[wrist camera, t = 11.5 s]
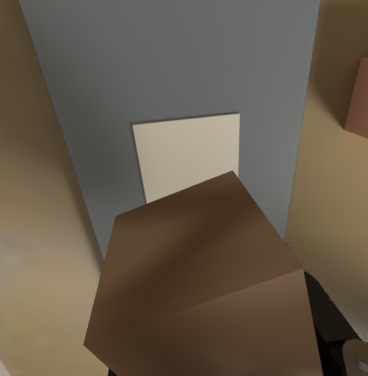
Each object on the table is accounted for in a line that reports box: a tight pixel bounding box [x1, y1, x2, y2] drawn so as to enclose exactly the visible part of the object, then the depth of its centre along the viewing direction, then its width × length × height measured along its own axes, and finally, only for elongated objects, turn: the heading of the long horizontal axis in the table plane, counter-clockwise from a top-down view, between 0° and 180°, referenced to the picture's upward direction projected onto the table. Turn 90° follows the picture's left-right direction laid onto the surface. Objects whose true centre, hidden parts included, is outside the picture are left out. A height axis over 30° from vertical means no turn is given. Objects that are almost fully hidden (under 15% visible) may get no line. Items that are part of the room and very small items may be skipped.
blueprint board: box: [19, 0, 320, 260], centre depth 21 cm, size 16×38×2 cm, turn 5°
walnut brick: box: [83, 170, 323, 376], centre depth 10 cm, size 5×10×5 cm, turn 21°
